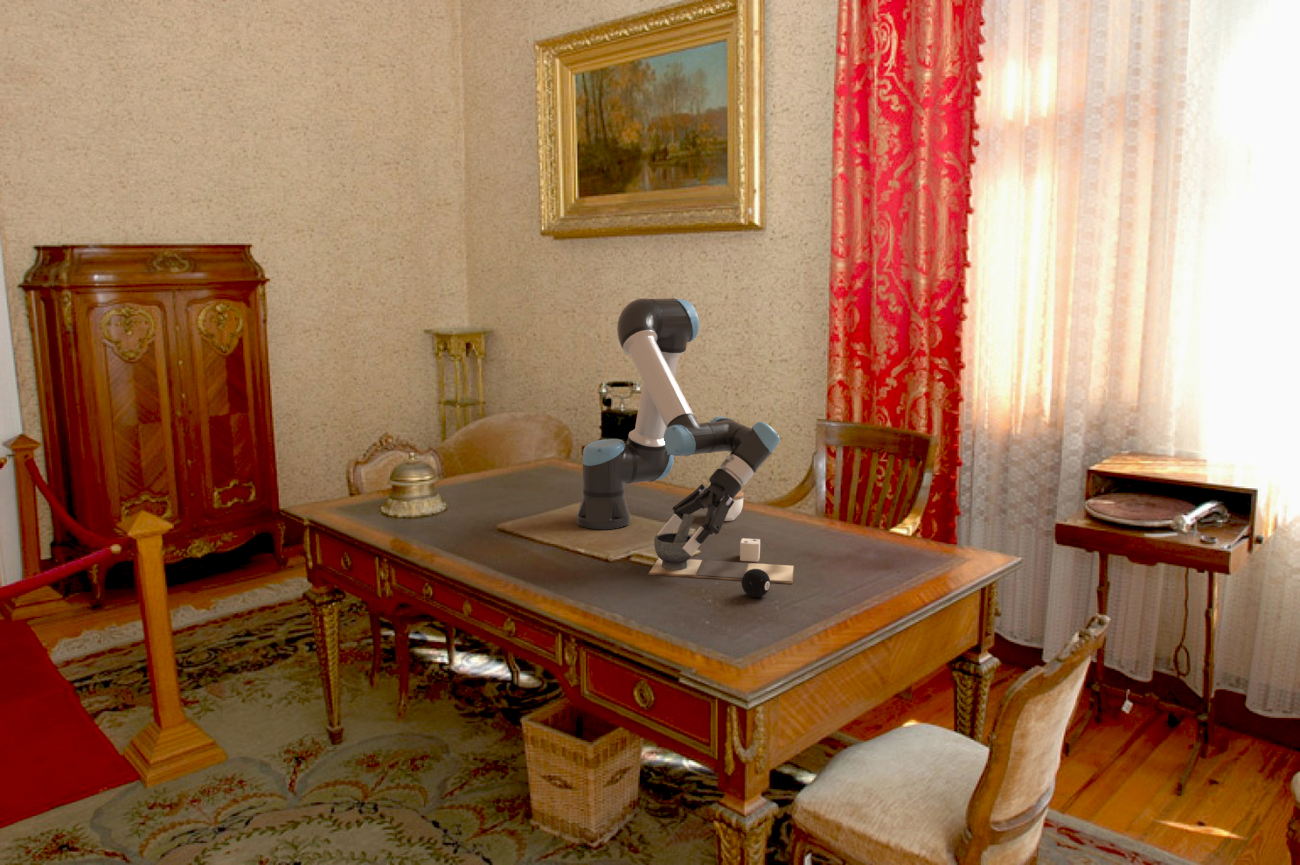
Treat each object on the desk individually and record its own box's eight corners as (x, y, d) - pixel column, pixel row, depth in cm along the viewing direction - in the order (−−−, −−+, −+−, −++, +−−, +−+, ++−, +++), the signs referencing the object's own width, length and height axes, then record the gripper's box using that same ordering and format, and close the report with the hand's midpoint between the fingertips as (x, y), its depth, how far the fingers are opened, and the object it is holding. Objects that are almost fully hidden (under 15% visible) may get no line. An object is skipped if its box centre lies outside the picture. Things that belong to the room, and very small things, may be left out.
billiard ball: (751, 589, 199) (752, 563, 198) (774, 595, 195) (775, 569, 194) (736, 596, 194) (736, 569, 193) (759, 603, 191) (760, 575, 190)
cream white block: (739, 560, 221) (740, 542, 220) (741, 555, 225) (742, 537, 225) (758, 562, 220) (758, 543, 219) (759, 556, 224) (760, 539, 224)
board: (648, 574, 209) (648, 572, 209) (658, 558, 222) (658, 556, 222) (792, 584, 203) (792, 581, 203) (794, 567, 216) (794, 565, 216)
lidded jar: (743, 514, 267) (743, 483, 266) (743, 523, 257) (744, 491, 255) (706, 513, 268) (707, 482, 267) (705, 522, 258) (706, 490, 256)
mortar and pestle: (676, 575, 207) (677, 524, 205) (645, 567, 213) (646, 517, 211) (706, 564, 216) (707, 515, 214) (676, 556, 222) (676, 509, 220)
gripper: (697, 458, 227) (642, 522, 223) (747, 476, 204) (687, 548, 200) (715, 477, 230) (661, 541, 226) (767, 497, 207) (708, 568, 203)
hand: (673, 544), depth 213 cm, fingers open, 13 cm apart
